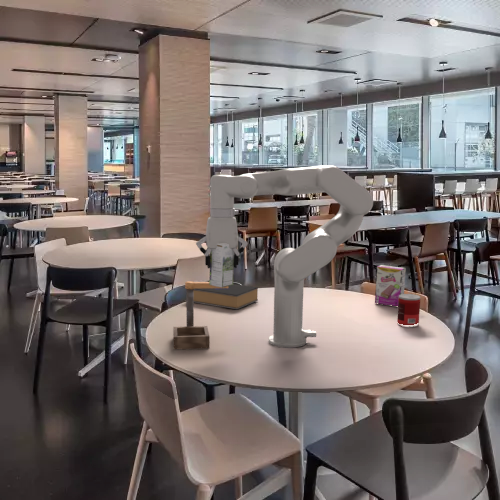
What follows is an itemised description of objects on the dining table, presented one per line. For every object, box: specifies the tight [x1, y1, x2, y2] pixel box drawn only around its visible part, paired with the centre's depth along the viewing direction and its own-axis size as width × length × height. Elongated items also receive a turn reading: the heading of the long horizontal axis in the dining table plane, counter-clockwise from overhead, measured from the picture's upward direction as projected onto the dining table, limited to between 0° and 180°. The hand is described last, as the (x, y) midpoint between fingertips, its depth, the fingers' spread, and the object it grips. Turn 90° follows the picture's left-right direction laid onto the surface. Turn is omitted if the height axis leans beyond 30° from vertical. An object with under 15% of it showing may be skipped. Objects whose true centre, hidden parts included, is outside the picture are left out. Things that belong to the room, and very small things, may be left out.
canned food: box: [396, 293, 421, 325], centre depth 213 cm, size 8×8×11 cm
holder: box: [172, 289, 211, 350], centre depth 191 cm, size 11×18×16 cm, turn 8°
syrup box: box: [208, 243, 235, 287], centre depth 186 cm, size 6×6×14 cm
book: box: [194, 280, 259, 310], centre depth 244 cm, size 17×25×7 cm
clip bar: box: [184, 281, 228, 289], centre depth 196 cm, size 3×15×2 cm, turn 96°
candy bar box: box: [374, 264, 407, 307], centre depth 242 cm, size 11×5×16 cm, turn 58°
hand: (221, 267), depth 187 cm, fingers closed on syrup box, 8 cm apart
